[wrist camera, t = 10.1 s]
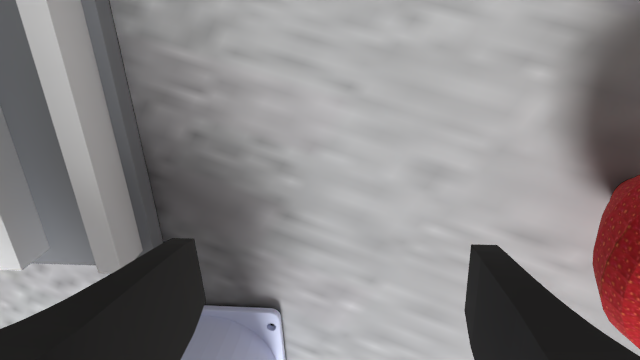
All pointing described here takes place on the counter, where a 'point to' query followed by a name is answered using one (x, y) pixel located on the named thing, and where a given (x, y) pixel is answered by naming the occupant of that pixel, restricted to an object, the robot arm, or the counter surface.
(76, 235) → the rack
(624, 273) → the strawberry
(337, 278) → the counter surface
